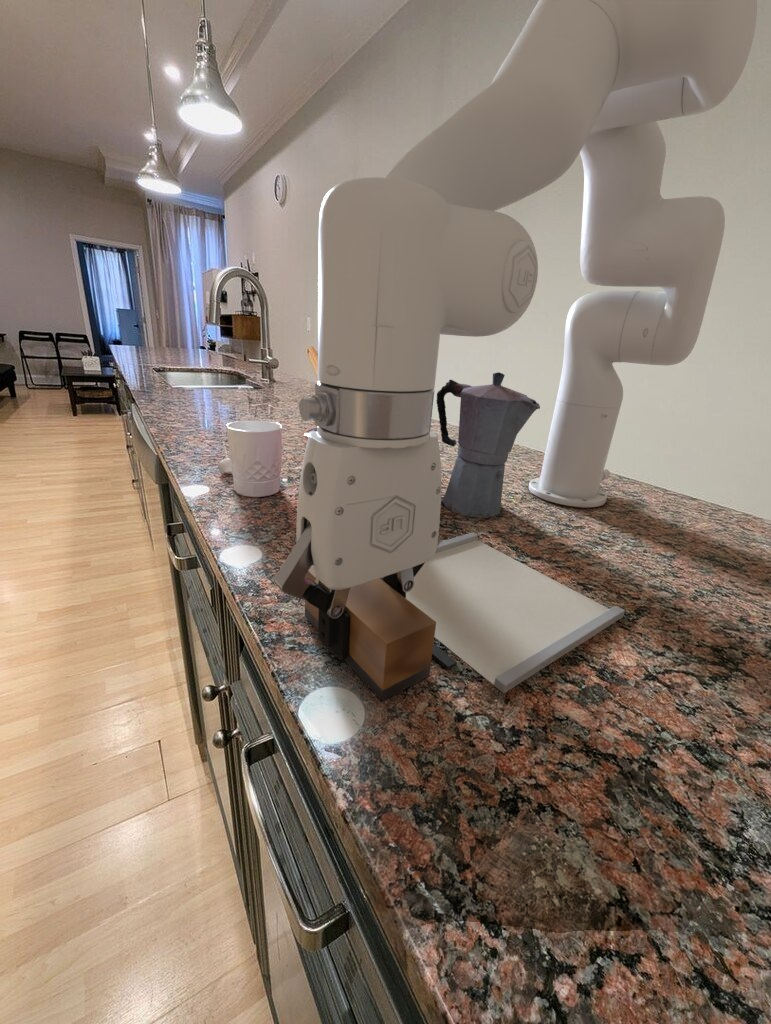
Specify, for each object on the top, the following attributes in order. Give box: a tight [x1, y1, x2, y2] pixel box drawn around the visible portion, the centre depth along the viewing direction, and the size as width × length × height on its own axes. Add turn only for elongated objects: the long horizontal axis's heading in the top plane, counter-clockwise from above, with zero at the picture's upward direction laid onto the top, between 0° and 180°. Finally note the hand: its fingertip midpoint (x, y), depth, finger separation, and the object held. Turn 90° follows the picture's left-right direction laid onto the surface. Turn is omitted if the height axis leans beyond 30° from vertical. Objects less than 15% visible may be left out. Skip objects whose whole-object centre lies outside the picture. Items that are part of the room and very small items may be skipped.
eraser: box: [304, 565, 436, 702], centre depth 36 cm, size 4×12×5 cm, turn 37°
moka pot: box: [436, 371, 541, 518], centre depth 64 cm, size 10×15×20 cm, turn 58°
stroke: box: [432, 643, 458, 671], centre depth 36 cm, size 4×1×1 cm, turn 38°
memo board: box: [406, 532, 626, 694], centre depth 45 cm, size 18×20×1 cm
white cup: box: [225, 419, 283, 498], centre depth 67 cm, size 8×8×10 cm
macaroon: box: [217, 457, 233, 475], centre depth 74 cm, size 4×5×2 cm
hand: (362, 635), depth 36 cm, fingers closed on eraser, 4 cm apart
